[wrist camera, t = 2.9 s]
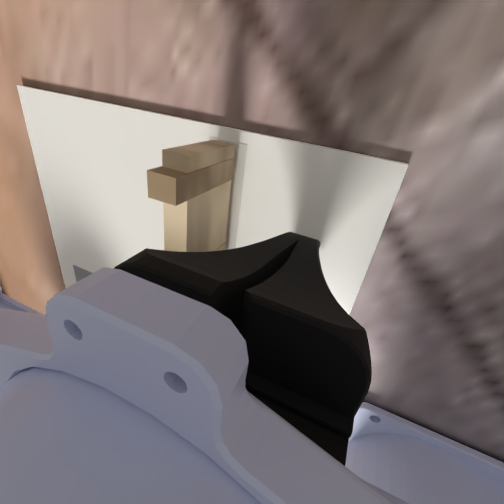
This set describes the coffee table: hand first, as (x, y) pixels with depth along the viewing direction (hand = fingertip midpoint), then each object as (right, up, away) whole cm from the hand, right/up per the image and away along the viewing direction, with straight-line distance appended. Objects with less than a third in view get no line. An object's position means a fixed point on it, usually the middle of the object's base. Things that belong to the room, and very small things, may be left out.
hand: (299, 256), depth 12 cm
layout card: (-7, 0, +5) cm, 8 cm away
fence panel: (-4, 0, +2) cm, 4 cm away
